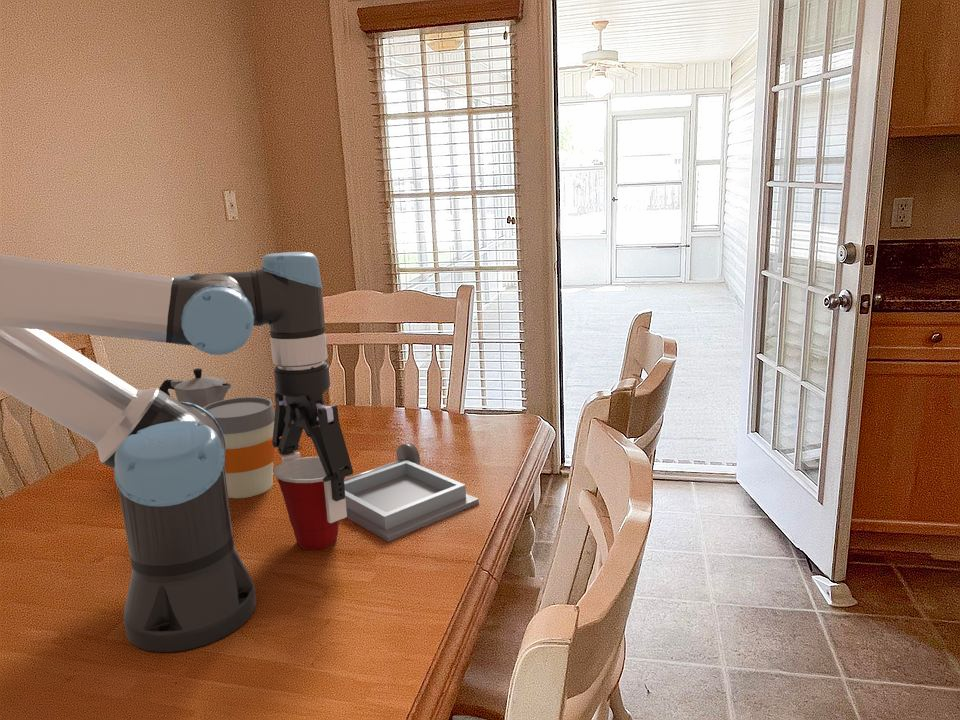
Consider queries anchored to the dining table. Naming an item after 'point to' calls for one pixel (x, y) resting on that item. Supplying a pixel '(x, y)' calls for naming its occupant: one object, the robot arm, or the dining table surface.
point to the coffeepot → (197, 389)
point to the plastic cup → (306, 502)
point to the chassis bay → (403, 496)
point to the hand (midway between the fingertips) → (315, 506)
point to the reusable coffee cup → (246, 443)
